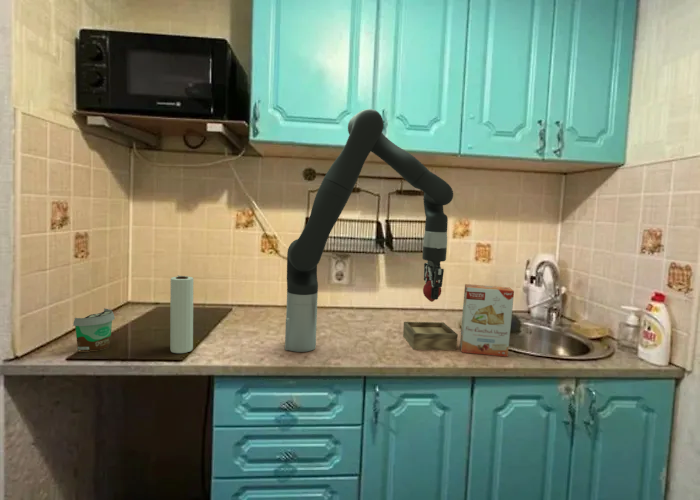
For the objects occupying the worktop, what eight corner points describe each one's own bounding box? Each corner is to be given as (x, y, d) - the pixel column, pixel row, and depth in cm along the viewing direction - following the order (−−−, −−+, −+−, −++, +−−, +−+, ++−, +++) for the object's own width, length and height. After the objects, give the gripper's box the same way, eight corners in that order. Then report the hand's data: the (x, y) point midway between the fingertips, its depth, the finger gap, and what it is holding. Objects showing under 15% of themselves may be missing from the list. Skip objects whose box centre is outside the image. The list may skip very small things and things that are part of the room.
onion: (429, 304, 137) (431, 279, 136) (418, 300, 142) (420, 276, 141) (444, 303, 140) (445, 278, 139) (432, 299, 145) (434, 275, 144)
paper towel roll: (187, 354, 121) (188, 279, 119) (166, 353, 122) (166, 278, 119) (197, 346, 129) (198, 275, 126) (177, 345, 129) (177, 274, 127)
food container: (93, 356, 117) (93, 320, 116) (73, 354, 118) (73, 318, 117) (124, 342, 129) (124, 309, 128) (106, 340, 130) (105, 308, 129)
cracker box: (461, 353, 133) (466, 286, 131) (459, 347, 139) (464, 283, 137) (508, 357, 131) (514, 290, 129) (504, 351, 137) (510, 286, 135)
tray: (413, 349, 135) (414, 333, 134) (403, 335, 149) (403, 321, 148) (456, 349, 136) (457, 334, 136) (442, 336, 150) (443, 322, 150)
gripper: (417, 243, 146) (414, 292, 147) (430, 247, 131) (426, 301, 133) (439, 244, 146) (436, 292, 148) (453, 248, 132) (450, 302, 134)
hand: (431, 296), depth 141 cm, fingers closed on onion, 5 cm apart
